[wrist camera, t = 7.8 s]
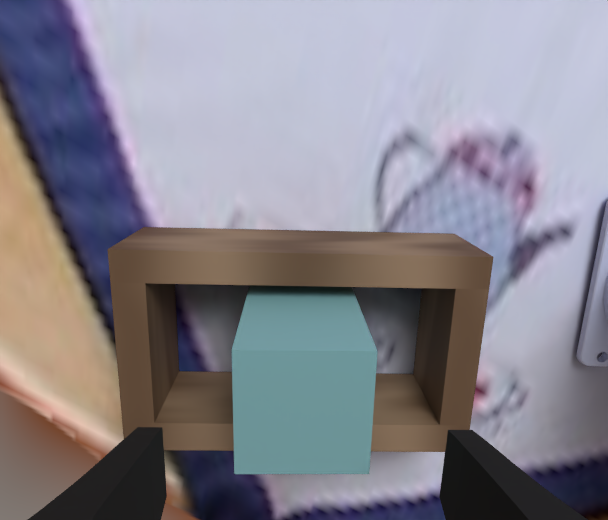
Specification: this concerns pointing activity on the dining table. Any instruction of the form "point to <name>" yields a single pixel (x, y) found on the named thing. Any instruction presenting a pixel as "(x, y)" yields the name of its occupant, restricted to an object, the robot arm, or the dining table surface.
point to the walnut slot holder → (297, 272)
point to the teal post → (302, 382)
